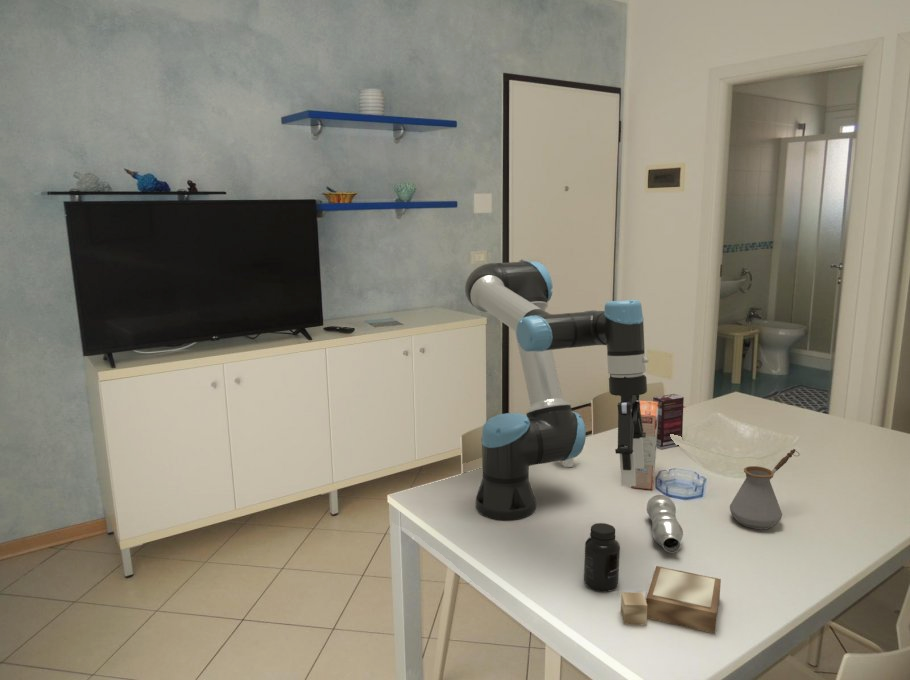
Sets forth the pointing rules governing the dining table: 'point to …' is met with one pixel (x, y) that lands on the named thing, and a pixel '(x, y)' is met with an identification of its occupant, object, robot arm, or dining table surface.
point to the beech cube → (633, 608)
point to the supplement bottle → (602, 558)
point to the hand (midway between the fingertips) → (633, 476)
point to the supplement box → (669, 419)
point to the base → (684, 599)
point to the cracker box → (648, 444)
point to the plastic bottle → (665, 523)
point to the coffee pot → (758, 497)
